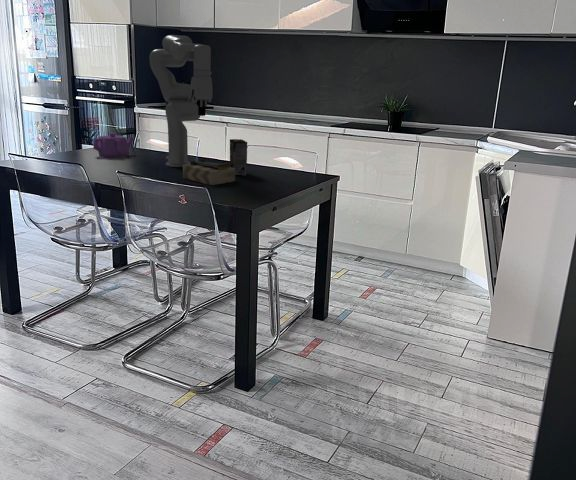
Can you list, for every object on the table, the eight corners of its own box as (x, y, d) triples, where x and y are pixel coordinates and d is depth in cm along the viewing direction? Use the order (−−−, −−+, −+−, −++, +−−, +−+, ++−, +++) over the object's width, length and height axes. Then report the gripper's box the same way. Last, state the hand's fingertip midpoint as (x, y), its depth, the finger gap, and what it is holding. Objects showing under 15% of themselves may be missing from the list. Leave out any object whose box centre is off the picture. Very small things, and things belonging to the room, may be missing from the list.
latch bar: (194, 164, 256) (194, 162, 256) (200, 163, 259) (200, 161, 259) (217, 167, 246) (217, 165, 246) (223, 166, 249) (223, 164, 249)
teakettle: (92, 157, 299) (90, 134, 295) (106, 152, 315) (104, 130, 311) (122, 159, 297) (121, 135, 293) (134, 154, 313) (133, 132, 309)
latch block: (182, 177, 256) (182, 159, 253) (206, 174, 266) (206, 156, 263) (211, 185, 243) (211, 166, 241) (235, 181, 253) (235, 162, 251)
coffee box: (229, 172, 273) (229, 139, 268) (241, 171, 275) (242, 138, 270) (234, 175, 265) (234, 141, 260) (247, 175, 267) (247, 141, 262)
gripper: (209, 73, 258) (209, 113, 264) (183, 73, 247) (183, 115, 253) (220, 74, 253) (219, 115, 259) (194, 74, 242) (194, 117, 249)
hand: (201, 115), depth 256 cm, fingers closed
